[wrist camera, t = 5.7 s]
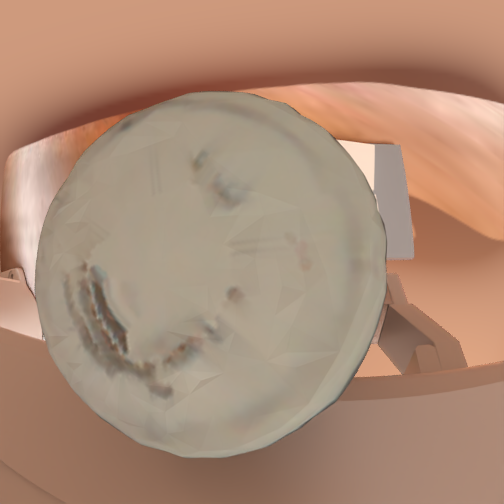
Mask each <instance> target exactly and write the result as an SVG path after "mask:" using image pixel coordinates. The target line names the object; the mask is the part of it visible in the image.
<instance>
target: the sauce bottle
mask: <svg viewBox="0 0 504 504" xmlns="http://www.w3.org/2000/svg"><path fill="white" fill-rule="evenodd" d="M386 257H387V236H386V230H385V224H384V222H383V220H382V218H381V215H380V213H379V211H378V208H377V200H376V198H375V196H374V194H373V191H372V189H371V187H370V185H369V183H368V181H367V179H366V177H365V175H364V173H363V172H362V171H361V169H360V168H359V166H358V165H357V164H356V162H355V161H354V160H353V158H352V157H351V156H350V154H349V153H348V152H347V151H346V150H345V149H344V148H343V146H342V145H341V144H340V143H339V142H338V141H337V140H336V139H335V138H334V137H333V136H332V135H331V134H330V133H329V132H328V131H327V130H325V129H324V128H323V127H321V126H320V125H318V124H317V123H315V122H313V121H312V120H310V119H308V118H306V117H304V116H302V115H301V114H299V113H298V112H297V111H296V110H295V109H293V108H292V107H290V106H289V105H287V104H286V103H282V102H278V101H273V100H268V99H266V98H263V97H261V96H258V95H255V94H250V93H243V92H228V91H203V92H194V93H188V94H185V95H182V96H179V97H176V98H173V99H170V100H168V101H165V102H162V103H159V104H156V105H153V106H151V107H148V108H146V109H144V110H141V111H138V112H136V113H133V114H130V115H128V116H127V117H125V118H124V119H122V120H121V121H119V122H118V123H117V124H115V125H114V126H112V127H111V128H109V129H108V130H107V131H106V132H105V133H104V134H102V135H101V136H100V137H99V138H98V139H97V140H96V141H95V142H94V143H93V144H92V145H91V146H89V147H88V148H87V149H86V150H85V151H84V153H83V154H82V155H81V157H80V158H79V160H78V161H77V162H76V164H75V166H74V168H73V170H72V171H71V173H70V175H69V177H68V178H67V179H66V181H65V182H64V184H63V185H62V186H61V188H60V189H59V191H58V193H57V194H56V196H55V198H54V199H53V201H52V203H51V205H50V207H49V210H48V212H47V215H46V218H45V221H44V224H43V227H42V231H41V235H40V240H39V245H38V252H37V260H36V269H35V296H36V303H37V309H38V314H39V320H40V324H41V328H42V332H43V335H44V337H45V340H46V344H47V348H48V351H49V353H50V355H51V357H52V359H53V361H54V362H55V364H56V366H57V367H58V369H59V370H60V372H61V373H62V375H63V376H64V378H65V379H66V381H67V382H68V384H69V385H70V386H71V388H72V389H73V391H74V392H75V393H76V394H77V395H78V396H79V397H80V398H81V399H82V400H83V401H84V402H85V403H86V404H87V405H88V406H89V407H90V408H91V409H92V410H93V411H94V412H95V413H96V414H97V415H98V416H99V417H100V418H101V419H103V420H104V421H106V422H107V423H108V424H110V425H111V426H113V427H114V428H116V429H117V430H119V431H120V432H122V433H123V434H125V435H126V436H128V437H129V438H131V439H133V440H134V441H136V442H137V443H139V444H141V445H144V446H147V447H151V448H155V449H159V450H163V451H166V452H169V453H172V454H175V455H177V456H180V457H184V458H202V457H203V458H226V457H231V456H235V455H239V454H244V453H247V452H250V451H254V450H257V449H261V448H264V447H268V446H271V445H272V444H274V443H276V442H277V441H279V440H281V439H283V438H284V437H286V436H288V435H290V434H292V433H293V432H295V431H297V430H299V429H300V428H302V427H303V426H304V425H306V424H307V423H308V422H309V421H310V420H311V419H312V418H314V417H315V416H317V415H318V414H320V413H321V412H323V411H324V410H325V409H327V408H328V407H330V406H331V405H333V404H334V403H336V402H337V400H338V399H339V398H340V396H341V395H342V394H343V392H344V391H345V390H346V388H347V387H348V386H349V384H350V382H351V381H352V379H353V378H354V376H355V374H356V373H357V371H358V369H359V367H360V365H361V364H362V362H363V360H364V358H365V356H366V354H367V352H368V349H369V347H370V345H371V342H372V340H373V337H374V335H375V332H376V329H377V327H378V323H379V320H380V317H381V313H382V309H383V305H384V301H385V297H386V292H387V274H386Z"/></svg>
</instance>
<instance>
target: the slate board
mask: <svg viewBox="0 0 504 504" xmlns="http://www.w3.org/2000/svg"><path fill="white" fill-rule="evenodd" d="M366 144H367V143H366ZM372 145H375V167H374V191H373V194H374V195H376V198H377V204H378V209H379V213H380V215H381V218H382V220H383V222H384V224H385V230H386V236H387V257H386V260H411V259H413V258H414V245H413V232H412V222H411V212H410V204H409V196H408V189H407V182H406V175H405V169H404V163H403V158H402V152H401V147H400V145H393V144H372Z"/></svg>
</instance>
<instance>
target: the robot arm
mask: <svg viewBox="0 0 504 504" xmlns="http://www.w3.org/2000/svg"><path fill="white" fill-rule="evenodd" d="M386 274H387V292H386V297H385V301H384V305H383V309H382V313H381V317H380V320H379V323H378V327H377V329H376V332H375V335H374V337H373V340H372V342H371V344H378V345H379V347H380V348H381V349H382V350H383V352H384V353H385V354H386V355H387V356H388V357H389V359H390V360H391V361H392V362H393V364H394V365H395V366H396V367H397V369H398V370H399V371H400V372H401V374H402V375H392V376H376V377H354V378H353V379H352V381H351V382H350V384H349V386H348V387H347V388H346V390H345V391H344V392H343V394H342V395H341V396H340V398H339V399H338V400H337V402H336V403H334V404H333V405H331V406H330V407H328V408H327V409H325V410H324V411H323V412H321V413H320V414H318V415H317V416H315V417H314V418H312V419H311V420H310V421H309V422H308V423H307V424H306V425H304V426H303V427H302V428H300V429H299V430H297V431H295V432H293V433H292V434H290V435H288V436H286V437H284V438H283V439H281V440H279V441H277V442H276V443H274V444H272V445H271V446H268V447H264V448H261V449H257V450H254V451H250V452H247V453H244V454H239V455H235V456H231V457H226V458H203V457H202V458H184V457H180V456H177V455H175V454H172V453H169V452H166V451H163V450H159V449H155V448H151V447H147V446H144V445H141V444H139V443H137V442H136V441H134V440H133V439H131V438H129V437H128V436H126V435H125V434H123V433H122V432H120V431H119V430H117V429H116V428H114V427H113V426H111V425H110V424H108V423H107V422H106V421H104V420H103V419H101V418H100V417H99V416H98V415H97V414H96V413H95V412H94V411H93V410H92V409H91V408H90V407H89V406H88V405H87V404H86V403H85V402H84V401H83V400H82V399H81V398H80V397H79V396H78V395H77V394H76V393H75V392H74V391H73V389H72V388H71V386H70V385H69V384H68V382H67V381H66V379H65V378H64V376H63V375H62V373H61V372H60V370H59V369H58V367H57V366H56V364H55V362H54V361H53V359H52V357H51V355H50V353H49V351H48V348H47V344H46V341H45V340H42V328H41V324H40V320H39V314H38V309H37V304H36V301H35V299H34V297H33V295H32V293H31V292H30V290H29V289H28V287H27V285H26V281H25V276H24V273H23V270H22V269H21V268H13V269H10V270H7V271H4V272H1V273H0V504H504V361H500V362H495V363H489V364H484V365H478V366H472V367H468V366H467V363H466V360H465V357H464V354H463V351H462V348H461V346H460V343H459V341H458V340H457V339H456V338H455V337H453V336H452V335H451V334H450V333H448V332H447V331H446V330H445V329H443V328H442V327H441V326H439V324H437V323H436V322H435V321H434V320H432V319H431V318H430V317H429V316H427V315H426V314H425V313H423V312H422V311H421V310H419V309H418V308H417V307H416V306H414V305H413V304H408V301H407V298H406V295H405V292H404V289H403V287H402V284H401V281H400V278H399V276H398V274H397V273H386Z"/></svg>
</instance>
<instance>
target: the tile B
mask: <svg viewBox="0 0 504 504" xmlns="http://www.w3.org/2000/svg"><path fill="white" fill-rule="evenodd" d="M337 141H338V142H339V143H340V144H341V145H342V146H343V148H344V149H345V150H346V151H347V152H348V153H349V154H350V156H351V157H352V158H353V160H354V161H355V162H356V164H357V165H358V166H359V168H360V169H361V171H362V172H363V173H364V175H365V177H366V179H367V181H368V183H369V185H370V187H371V189H372V191H374V167H375V145H372V144H366V143H359V142H351V141H344V140H337Z"/></svg>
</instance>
